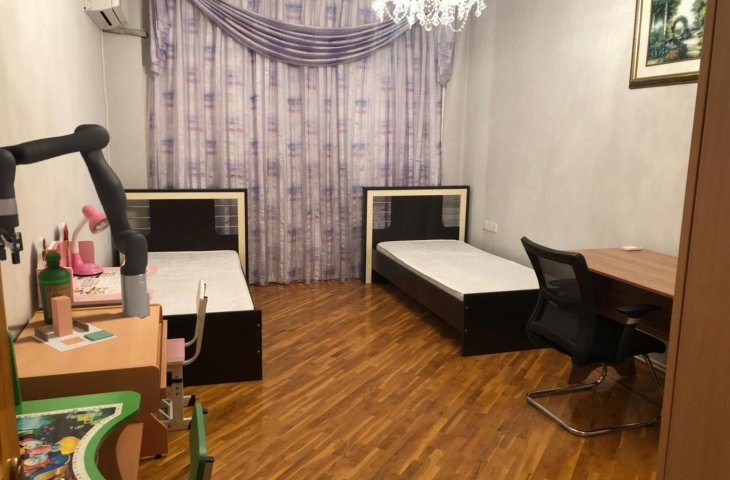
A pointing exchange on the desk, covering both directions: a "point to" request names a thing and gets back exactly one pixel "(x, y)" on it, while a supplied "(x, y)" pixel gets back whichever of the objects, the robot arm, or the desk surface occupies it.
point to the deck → (77, 332)
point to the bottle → (53, 283)
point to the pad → (98, 335)
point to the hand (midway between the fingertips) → (9, 262)
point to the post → (62, 316)
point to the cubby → (47, 329)
